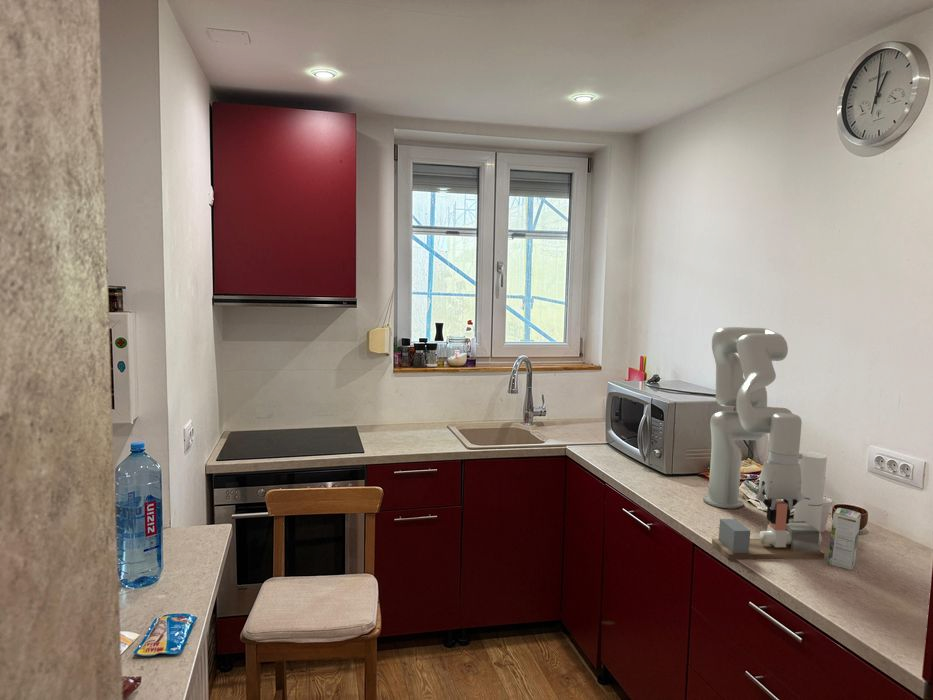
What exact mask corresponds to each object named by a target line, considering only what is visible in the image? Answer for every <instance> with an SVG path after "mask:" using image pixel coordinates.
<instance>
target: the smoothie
mask: <svg viewBox="0 0 933 700" xmlns="http://www.w3.org/2000/svg"><path fill="white" fill-rule="evenodd" d="M832 505H833V500H832V499H831V498H829V497H827V496H826V497H825V496H823V505H822V516H821V526H820V533H823V532H826V527H827V523H828V519H829V516H830V515H829V514H830V513H831V512H830V511H831V507H832Z"/></svg>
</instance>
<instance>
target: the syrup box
mask: <svg viewBox="0 0 933 700" xmlns="http://www.w3.org/2000/svg"><path fill="white" fill-rule="evenodd" d="M861 516H862V513H860V512H858V511H855V510H851V509H849V508H842V507H837V508H836V510H835V511H834V512H833V513H832V523H831V529H830V530H831V531H830V540H829V547H828V557H827V564H828V565H830V566H834V567H838V568H841V569H846V570H849V571H850V570H851V571H852V570H853V568H854V567H855V564H856V559H857V552H858V543H859V542H858V541H859V533H860V525H861V518H862V517H861Z"/></svg>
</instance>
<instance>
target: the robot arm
mask: <svg viewBox="0 0 933 700" xmlns="http://www.w3.org/2000/svg"><path fill="white" fill-rule="evenodd" d="M711 349H712V355H713V358H714V362H715V400H716V402H717V404H718V405H719V406H721V407H728V408H729V407H730V408H736V411H735V410H721V411H717V412H715V413H713V414H712V416H711V417H710V420H709V421H710V422H709V424H710V426H709V427H710V434H711V435H710V436H711V447H710V448H711V452H710V453H711V454H710V464H709V465H710V466H709V467H710V468H709V480H708V484H707V488H708V493H705V494H704V495H703V498H702V499H703V501H704V502H705V503H706V504H708V505H710V506H713V507H715V508H722V509H733V510H734V509H739V508H742V507H743V506H744V501H743V499H742V498H740V497H739V496H740V495H739V494H740V484H741V483H740V482H741V481H740V480H741V471H742V469H741V468H742V450H741V449H740V447H739V446H738V445H737V443H736V441H759V440H762V439H763V438H764V437H765V435H766V434H769V441H768V442H769V443H768V453H767V459H766V460H764V461H763V464H762V468H761V471H760V476H759V481H758V492H757V494H756V495H755V499H757V500H758V501H759V502H762V503H763V505H765V506H766V507H767V509H766V519H767V520H766V521H768V522H771V523H772V524H775V523H776V510H775V505H776V500H782V501H784V502H785V503H787V504H788V506H787V518H786V524H788V523H789V521H790V520H791V518H790V517H791V511H793V509H794V507H795V505H796V504H797V502H800V501H802V500H803V499H804V497H803V495H802V493H801V487H802V476H801V468H800V464H799V463H798V462H799V459H802V458H803V455H802V454H799V452H800V445H801V434H802V424H803V423H802V418H801V417H800V416H799V415H797V414H795V413H793V412H792V411H791V410H790V409H789V408H786V407H773V406H768V391H767V388H766V387H768V386H770V385H771V384H772V383H774V381H775V380H776V377H777V374H776V371H775V367H774V365H773V362H781V361H783V360H785V359H786V358H787V356H788V350H789V348H788V343H787V340H786V339H785V337H784V336H783V335H782V334H781V333H779V332H777V331H774V330H771V329H769V328H764V327H742V326H741V327H740V326H739V327H738V326H731V327H730V326H728V327H721V328H718V329H717V330H715V331H714V333H713V335H712V338H711ZM765 497H766V498H765Z"/></svg>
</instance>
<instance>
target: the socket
mask: <svg viewBox="0 0 933 700" xmlns="http://www.w3.org/2000/svg"><path fill="white" fill-rule="evenodd" d="M718 539H719V541H720V542H721V543H722V544H723V545H724V546H726V547H727V548H728V549H729V550H730V551H731V552H732V553H749V543H750V539H751V530H750V529H749V528H748V527H746V526H745V525H744V524H742V523H741V522H740V521H739V519H736V518H720V519H719V529H718Z"/></svg>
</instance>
